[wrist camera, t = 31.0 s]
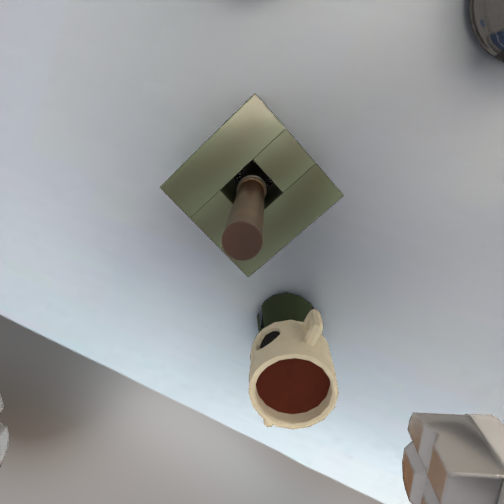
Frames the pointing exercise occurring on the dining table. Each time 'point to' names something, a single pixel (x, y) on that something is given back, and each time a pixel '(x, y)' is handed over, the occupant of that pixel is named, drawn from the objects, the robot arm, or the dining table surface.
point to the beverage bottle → (489, 25)
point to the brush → (246, 215)
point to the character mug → (291, 365)
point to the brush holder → (274, 166)
